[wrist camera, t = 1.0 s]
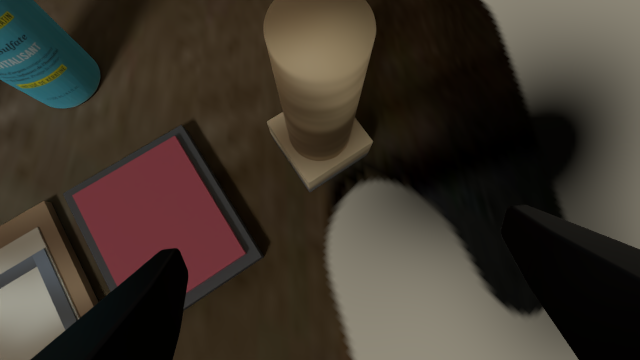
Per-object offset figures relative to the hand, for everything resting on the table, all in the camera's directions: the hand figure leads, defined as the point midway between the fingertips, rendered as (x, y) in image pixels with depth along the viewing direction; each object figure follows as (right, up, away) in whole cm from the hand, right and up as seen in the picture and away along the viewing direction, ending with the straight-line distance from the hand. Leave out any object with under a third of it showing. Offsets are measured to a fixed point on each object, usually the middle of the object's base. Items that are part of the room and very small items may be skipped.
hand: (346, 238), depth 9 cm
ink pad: (-11, -2, +13) cm, 17 cm away
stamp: (-1, +4, +15) cm, 15 cm away
